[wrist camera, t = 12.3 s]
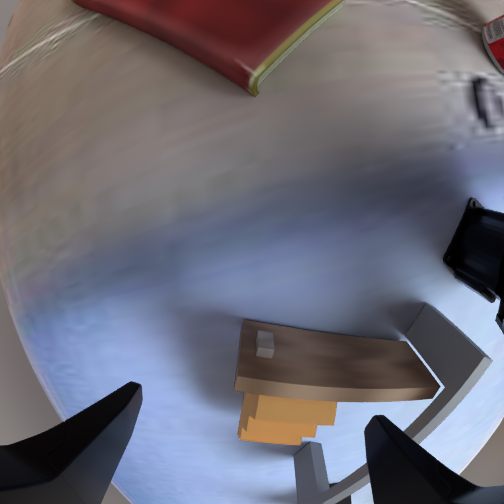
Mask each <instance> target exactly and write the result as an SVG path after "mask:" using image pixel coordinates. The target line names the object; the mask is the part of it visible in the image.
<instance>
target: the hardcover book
mask: <svg viewBox="0 0 504 504" xmlns="http://www.w3.org/2000/svg"><path fill="white" fill-rule="evenodd" d="M71 1H72V2H73V3H75V4H76V5H78V6H81V7H83V8H86V9H89V10H92V11H95V12H98V13H101V14H103V15H106V16H109V17H111V18H114V19H116V20H119V21H121V22H123V23H126V24H128V25H130V26H133V27H135V28H137V29H139V30H142V31H144V32H146V33H148V34H150V35H152V36H154V37H156V38H158V39H160V40H162V41H164V42H166V43H168V44H170V45H172V46H174V47H176V48H178V49H180V50H181V51H183V52H185V53H187V54H189V55H190V56H192V57H194V58H196V59H197V60H199V61H201V62H202V63H204V64H206V65H208V66H209V67H211V68H212V69H214V70H216V71H217V72H219V73H221V74H222V75H224V76H225V77H227V78H228V79H230V80H231V81H233V82H235V83H236V84H238V85H239V86H241V87H242V88H243V89H245V90H246V91H248V92H249V93H251V94H252V95H254V96H255V97H256V95H257V94H258V93H259V92H258V90H257V86H258V85H259V84H260V83H261V82H262V81H263V80H264V79H265V78H266V77H267V76H268V75H269V74H270V73H271V72H272V71H273V70H274V69H275V67H276V66H277V65H278V64H279V63H280V62H281V61H282V60H283V59H284V58H285V57H286V56H288V55H289V54H290V53H291V52H292V51H293V50H294V49H295V48H296V47H297V46H298V45H299V44H300V43H301V42H302V41H303V40H304V39H305V38H307V37H308V36H309V35H310V34H311V33H312V32H313V31H314V30H315V29H316V28H318V27H319V26H320V25H321V24H322V23H323V22H325V21H326V20H327V19H328V18H329V17H330V16H332V15H333V14H334V13H335V12H336V11H338V10H339V9H340V8H341V7H342V6H343V4H344V2H345V0H71Z"/></svg>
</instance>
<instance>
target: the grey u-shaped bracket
mask: <svg viewBox="0 0 504 504" xmlns="http://www.w3.org/2000/svg"><path fill="white" fill-rule="evenodd" d="M405 336H406V338H407V339H408V340H409V341H410V343H411V344H412V345H413V346H414V348H415V349H416V350H417V351H418V353H419V354H420V355H421V356H422V358H423V359H424V360H425V362H426V363H427V364H428V365H429V367H430V368H431V369H432V371H433V372H434V373H435V375H436V376H437V377H438V379H439V380H440V381H441V383H442V384H443V385H444V387H445V388H444V389H443V391H442V392H441V393H440V394H439V395H438V396H437V397H436V399H435V400H434V401H433V402H432V403H431V404H430V405H429V406H428V407H427V408H426V409H425V410H424V412H423V413H422V414H421V415H420V416H419V417H418V418H417V419H416V420H415V421H414V422H413V423H412V424H411V425H410V426H409V427H408V428H406V429H405V430H404V431H403V432H404V433H405V434H407V435H408V436H409V437H410V438H411V439H413V440H414V441H415V442H416V443H417V444H420V443H421V442H422V441H423V440H424V439H425V438H426V437H427V436H428V435H429V434H430V433H431V432H432V431H434V430H435V429H436V428H437V427H438V426H439V425H440V424H441V423H442V422H443V421H444V420H445V418H446V417H447V416H448V415H449V414H450V413H451V412H452V411H453V410H454V409H455V408H456V407H457V406H458V404H459V403H460V402H461V401H462V400H463V399H464V398H465V396H466V395H467V394H468V393H469V392H470V390H471V389H472V388H473V387H474V385H475V384H476V383H477V382H478V380H479V379H480V378H481V376H482V375H483V374H484V372H485V371H486V370H487V368H488V367H489V366H490V364H491V363H492V360H491V359H490V358H489V357H488V356H487V355H486V354H485V353H484V352H483V351H482V350H481V349H480V348H479V347H478V346H477V345H476V344H475V343H474V342H473V341H472V340H471V339H470V338H469V337H467V336H466V335H465V334H464V333H463V332H462V331H461V330H460V329H459V328H458V327H457V326H455V325H454V324H453V323H452V322H451V321H450V320H449V319H448V318H446V317H445V316H444V315H443V314H442V313H441V312H440V311H438V310H437V309H436V308H434V307H433V306H431V305H429V304H428V303H426V304H425V306H424V307H423V309H422V310H421V312H420V313H419V315H418V317H417V318H416V320H415V321H414V323H413V324H412V325H411V327H410V328H409V330H408V331H407V333H406V334H405ZM294 467H295V477H296V488H297V500H298V504H335V503H337V502H339V501H341V500H342V499H344V498H346V497H347V496H349V495H351V494H352V493H354V492H356V491H357V490H359V489H360V488H362V487H363V486H365V485H366V484H368V483H369V482H370V477H369V472H368V466H367V463H365V464H364V465H363V466H362V467H360V468H359V469H357V470H356V471H355V472H353V473H352V474H351V475H349V476H348V477H346V478H345V479H343V480H342V481H340V482H339V483H337V484H336V485H334V486H333V487H331V488H329V482H328V477H327V471H326V466H325V460H324V455H323V450H322V445H321V444H320V443H314V442H309V443H308V444H307V445H306V446H305V447H303V448H302V449H301V450H300V451H299V452H298V453H296V454H295V455H294Z"/></svg>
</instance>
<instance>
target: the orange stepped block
mask: <svg viewBox="0 0 504 504" xmlns="http://www.w3.org/2000/svg"><path fill="white" fill-rule="evenodd" d="M336 407H337V402H334V401H315V400H302V399H291V398H282V397H273V396H265V395H258V394H251V393H245V394H244V399H243V405H242V410H241V416H240V422H239V427H238V433H237V435H238V437H239V439H240V440H245V441H253V442H262V443H273V444H286V445H301V440H302V437H312V438H315V434H316V428H317V425H334V421H335V414H336Z"/></svg>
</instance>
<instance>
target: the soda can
mask: <svg viewBox="0 0 504 504" xmlns="http://www.w3.org/2000/svg"><path fill="white" fill-rule="evenodd" d="M482 39H483V43H484V46H485V49H486V51H487V53H488V55H489V57H490V58H491V60H492V61H493V63H494V64H495V66H496V67H497V68H498V69H499V70H500V71H501V72H502V73H503V74H504V15H502V16H500V17H498V18H496V19H494V20H492V21H490V22H488V23H487V24H485V25H484V26H483V29H482Z"/></svg>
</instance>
